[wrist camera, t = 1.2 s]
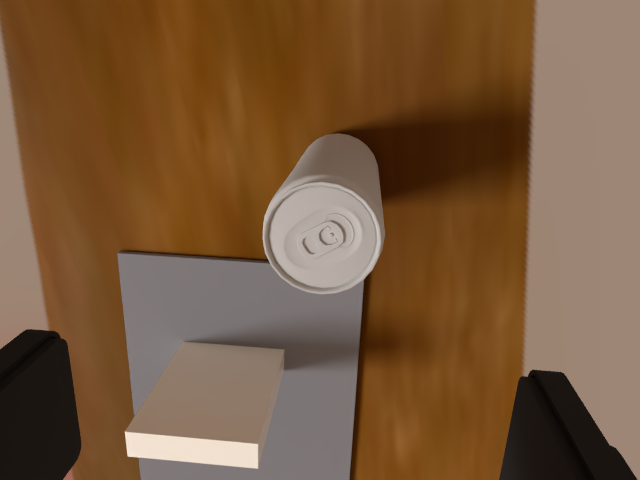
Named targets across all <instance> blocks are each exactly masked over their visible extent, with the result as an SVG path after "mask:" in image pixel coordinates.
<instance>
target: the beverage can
mask: <svg viewBox="0 0 640 480" xmlns="http://www.w3.org/2000/svg"><path fill="white" fill-rule="evenodd" d="M384 237H385V231H384V220H383V210H382V201H381V191H380V181H379V172H378V164H377V162H376V159H375V156H374V154H373V153H372V152H371V150H370V149H369V147H368V146H367V145H365V144H364V143H363V142H362V141H360V140H359V139H357V138H355V137H352V136H350V135H346V134H339V133H337V134H329V135H325V136H323V137H321V138H318V139H317V140H315V141H314V142H313V143H312V144H311V145H310V146H309V147H308V148H307V150H306V151H305V152H304V154H303V155H302V157H301V158H300V160H299V162H298V163H297V165H296V166H295V168H294V169H293V171H292V172H291V174H290V175H289V176H288V178H287V179H286V180H285V182H284V183H283V184H282V186H281V187H280V188H279V190H278V191H277V193H276V194H275V196H274V197H273V199H272V200H271V202H270V204H269V207H268V209H267V212H266V214H265V217H264V225H263V243H264V249H265V253H266V256H267V258H268V260H269V262H270V264H271V266H272V267H273V269H274V270H275V271H276V272H277V273H278V275H279V276H280V277H281V278H282V279H284V280H285V281H286V282H288V283H289V284H290V285H292V286H293V287H296V288H298V289H301V290H303V291H306V292H310V293H316V294H332V293H338V292H341V291H344V290H347V289H350V288H352V287H353V286H355V285H357V284H358V283H360V282H361V281H363V280H364V279H365V277H366V276H367V275H368V274H369V273H370V272H371V271H372V270H373V268H374V266H375V264H376V262H377V260H378V258H379V256H380V254H381V252H382V248H383V243H384Z"/></svg>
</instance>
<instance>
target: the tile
mask: <svg viewBox="0 0 640 480" xmlns="http://www.w3.org/2000/svg"><path fill="white" fill-rule="evenodd" d="M283 372H284V349H272V348H259V347H246V346H234V345H221V344H209V343H196V342H182V344H181V345H180V347H179V348H178V350H177V351H176V353H175V355H174V356H173V358H172V359H171V361H170V362H169V364H168V366H167V367H166V369H165V370H164V372H163V373H162V375H161V376H160V378H159V380H158V381H157V383H156V384H155V386H154V387H153V389H152V390H151V392H150V394H149V395H148V397H147V398H146V400H145V401H144V403H143V404H142V406H141V408H140V409H139V411H138V412H137V414H136V415H135V417H134V419H133V420H132V422H131V423H130V425H129V426H128V428H127V429H126V431H125V437H126V446H127V454H128V456H129V457H140V458H150V459H161V460H172V461H182V462H193V463H203V464H214V465H224V466H235V467H245V468H256V469H258V467H259V463H260V460H261V456H262V452H263V448H264V444H265V441H266V437H267V433H268V429H269V425H270V421H271V418H272V414H273V410H274V406H275V402H276V399H277V395H278V391H279V387H280V383H281V379H282V376H283Z"/></svg>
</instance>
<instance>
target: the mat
mask: <svg viewBox="0 0 640 480" xmlns="http://www.w3.org/2000/svg"><path fill="white" fill-rule="evenodd" d="M117 254H118V263H119V273H120V282H121V292H122V302H123V311H124V321H125V331H126V340H127V350H128V360H129V369H130V379H131V389H132V398H133V408H134V417H135V415H136V414H137V412H138V411H139V409H140V408H141V406H142V404H143V403H144V401H145V400H146V398H147V397H148V395H149V394H150V392H151V390H152V389H153V387H154V386H155V384H156V383H157V381H158V380H159V378H160V376H161V375H162V373H163V372H164V370H165V369H166V367H167V366H168V364H169V362H170V361H171V359H172V358H173V356H174V355H175V353H176V351H177V350H178V348H179V347H180V345H181V344H182V342H196V343H209V344H221V345H234V346H246V347H259V348H272V349H284V372H283V376H282V379H281V383H280V387H279V391H278V395H277V399H276V402H275V406H274V410H273V414H272V418H271V421H270V425H269V429H268V433H267V437H266V441H265V444H264V448H263V452H262V456H261V460H260V463H259V467H258V469H256V468H245V467H235V466H224V465H214V464H203V463H193V462H182V461H172V460H161V459H150V458H140V457H139V466H140V475H141V480H349V479H350V465H351V451H352V438H353V424H354V410H355V397H356V383H357V369H358V356H359V342H360V328H361V315H362V301H363V287H364V280H363V281H361V282H360V283H358V284H357V285H355V286H353V287H352V288H350V289H347V290H344V291H341V292H338V293H332V294H316V293H310V292H306V291H303V290H301V289H298V288H296V287H293V286H292V285H290V284H289V283H288V282H286V281H285V280H284V279H282V278H281V277H280V276H279V275H278V273H277V272H276V271H275V270H274V269H273V267H272V266H271V264H270V262H269V261H260V260H245V259H231V258H216V257H201V256H186V255H172V254H157V253H142V252H127V251H120V252H118V253H117Z"/></svg>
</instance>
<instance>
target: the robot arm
mask: <svg viewBox="0 0 640 480" xmlns="http://www.w3.org/2000/svg"><path fill="white" fill-rule="evenodd" d="M80 450H81V437H80V430H79V423H78V416H77V409H76V401H75V394H74V387H73V380H72V373H71V366H70V359H69V352H68V345H67V342H66V341H65V340H64V339H61V338H60V335H59V334H58V333H57V332H55V331H44V330H32V329H30V330H25V331H24V332H22V333H21V334H19V335H18V336H17V337H16V338H14V339H13V340H12V341H11V342H9V343H8V344H7V345H5V346H4V347H3V348H2V349H0V480H63V479H64V477H65V476H66V474H67V473H68V472H69V470H70V469H71V468H72V466H73V465H74V464H75V462H76V460H77V459H78V456H79V454H80ZM499 480H637V479H636V477H635V475H634V474H633V472H632V471H631V469H630V468H629V466H628V465H627V463H626V462H625V460H624V458H623V457H622V455H621V454H620V453H619V452H618V450H617V449H616V448H614V447H612V446H610V445H609V444H608V442H607V440H606V439H605V437H604V436H603V434H602V432H601V431H600V429H599V428H598V426H597V425H596V423H595V421H594V420H593V418H592V417H591V415H590V414H589V412H588V410H587V409H586V407H585V406H584V404H583V402H582V401H581V399H580V398H579V396H578V395H577V393H576V392H575V390H574V388H573V387H572V385H571V384H570V382H569V380H568V379H567V377H566V376H565V375H564V373H562V372H552V371H541V370H532V371H530V373H529V375H528V377H524V376H522V377H520V379H519V382H518V386H517V392H516V397H515V402H514V407H513V412H512V417H511V422H510V428H509V433H508V438H507V443H506V448H505V453H504V458H503V464H502V469H501V474H500V479H499Z"/></svg>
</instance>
